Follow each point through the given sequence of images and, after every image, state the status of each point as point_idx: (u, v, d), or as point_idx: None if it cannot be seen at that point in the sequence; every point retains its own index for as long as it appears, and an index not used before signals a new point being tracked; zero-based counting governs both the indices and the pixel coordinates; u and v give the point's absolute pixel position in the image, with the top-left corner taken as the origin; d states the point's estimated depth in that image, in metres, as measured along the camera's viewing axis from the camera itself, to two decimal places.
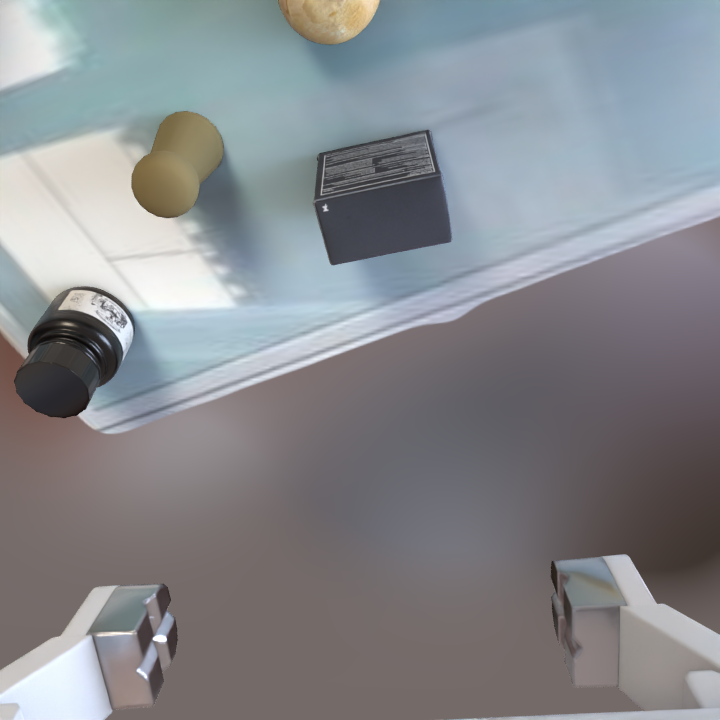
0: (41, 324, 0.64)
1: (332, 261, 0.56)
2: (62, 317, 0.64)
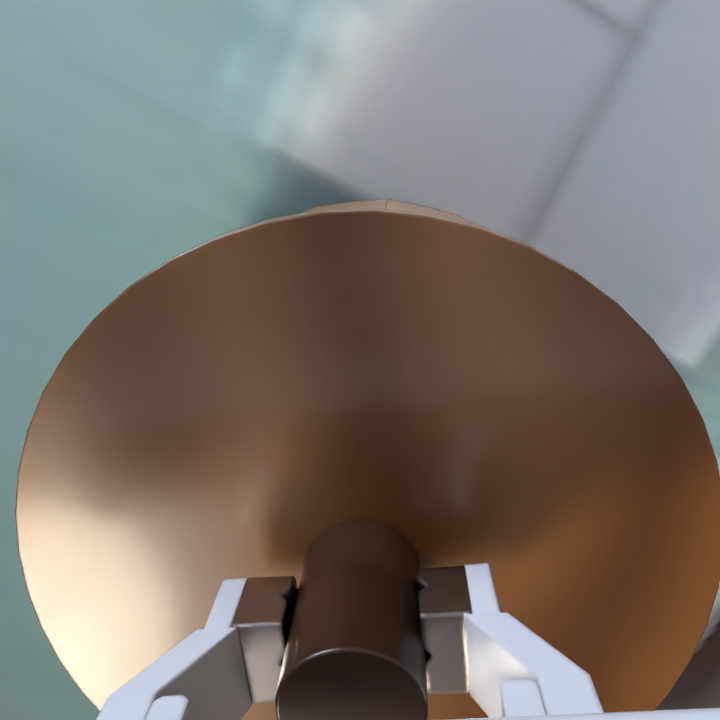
0: None
1: None
2: None
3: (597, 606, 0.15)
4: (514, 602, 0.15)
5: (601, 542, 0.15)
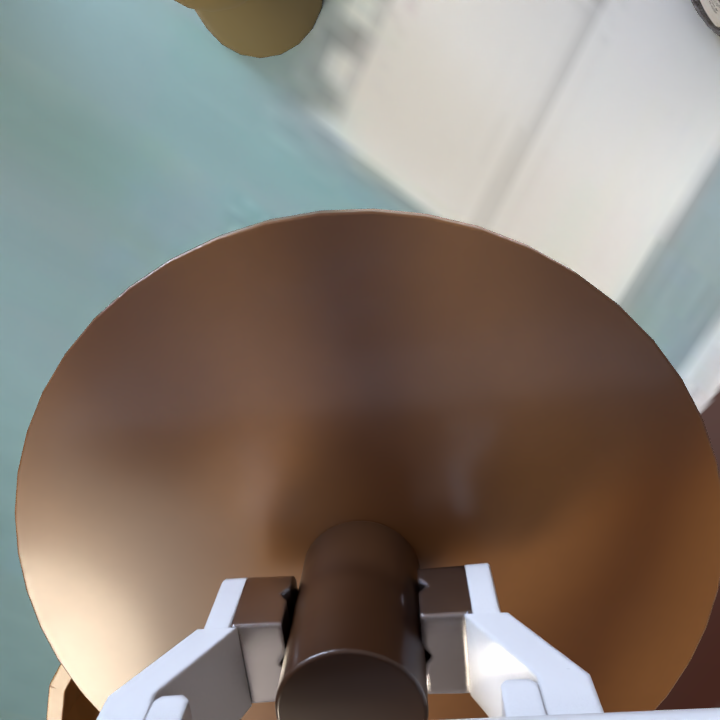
0: None
1: None
2: None
3: (597, 606, 0.15)
4: (514, 603, 0.15)
5: (601, 543, 0.15)
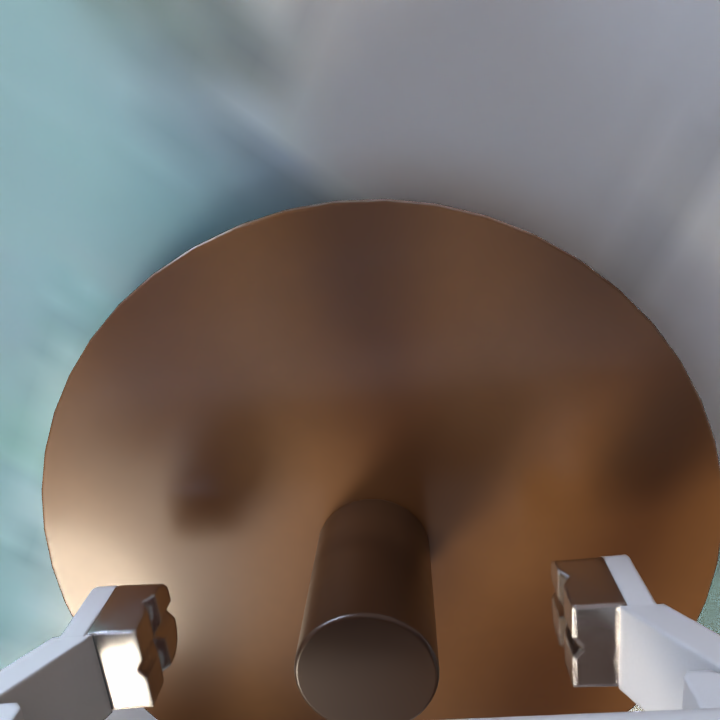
0: None
1: None
2: None
3: None
4: (520, 578, 0.16)
5: (604, 520, 0.15)
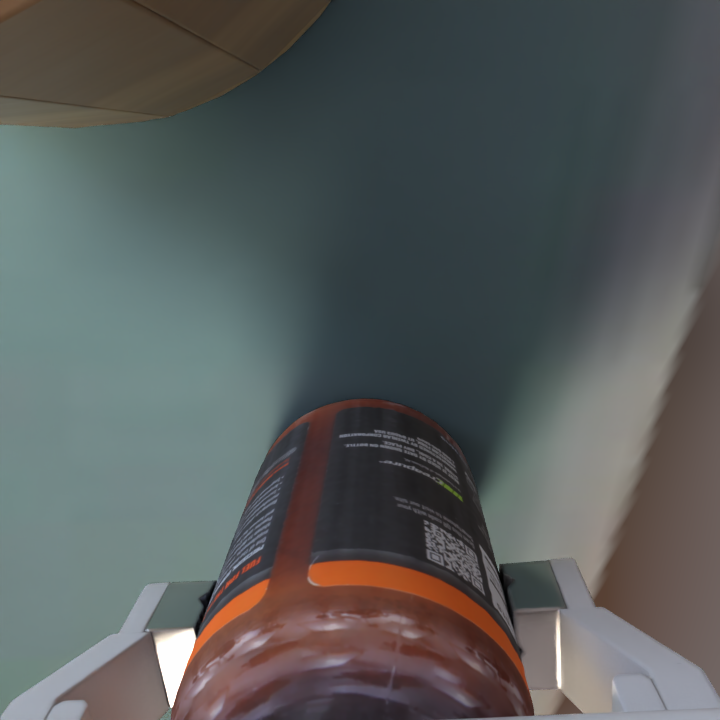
0: None
1: None
2: None
3: None
4: None
5: None
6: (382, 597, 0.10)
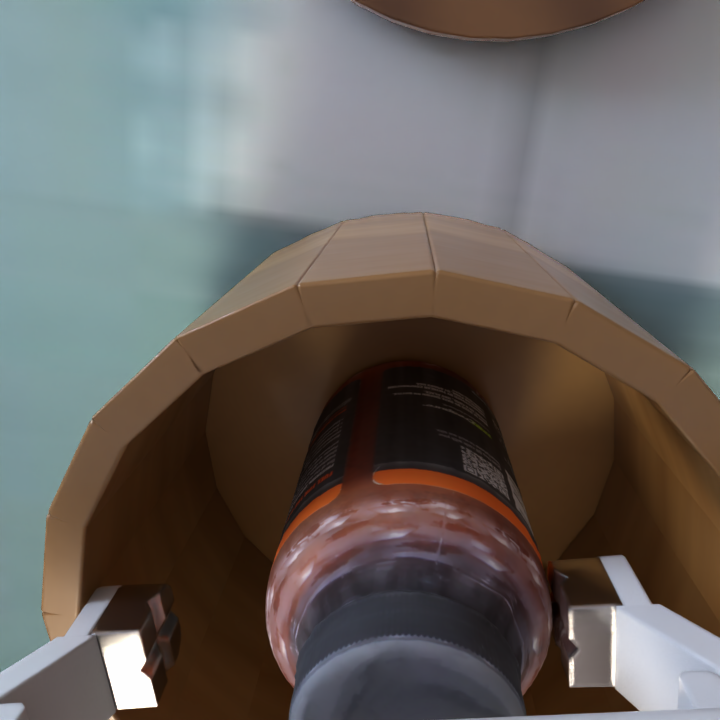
0: None
1: None
2: None
3: None
4: None
5: None
6: (431, 492, 0.13)
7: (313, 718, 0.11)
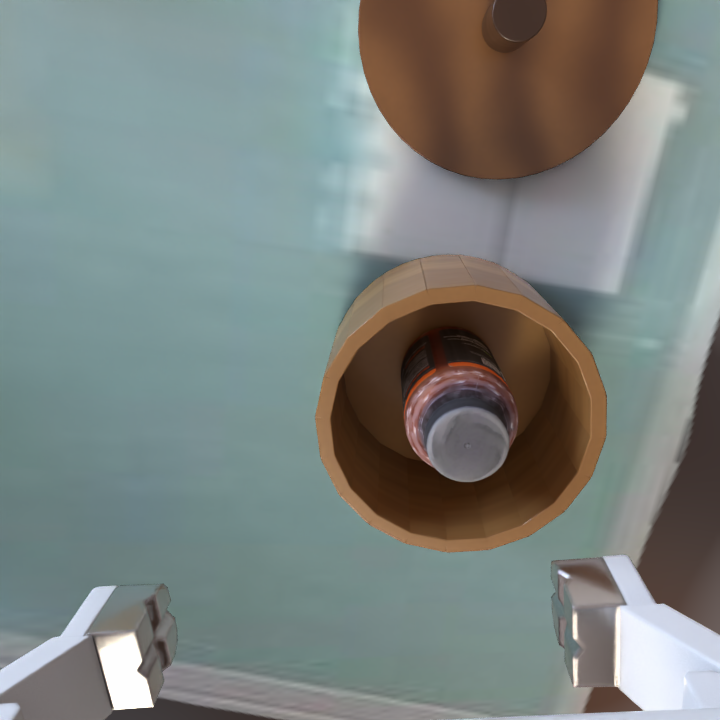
0: None
1: None
2: None
3: (608, 6, 0.35)
4: (573, 18, 0.35)
5: None
6: (472, 368, 0.34)
7: (436, 438, 0.32)
